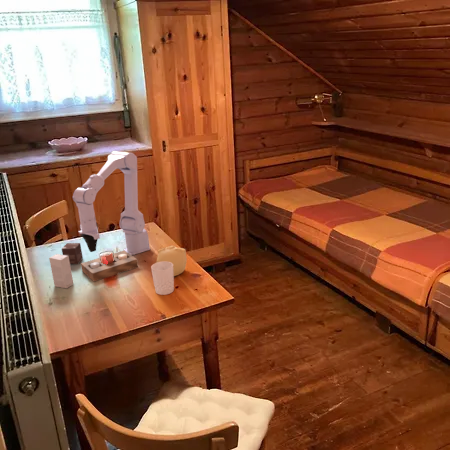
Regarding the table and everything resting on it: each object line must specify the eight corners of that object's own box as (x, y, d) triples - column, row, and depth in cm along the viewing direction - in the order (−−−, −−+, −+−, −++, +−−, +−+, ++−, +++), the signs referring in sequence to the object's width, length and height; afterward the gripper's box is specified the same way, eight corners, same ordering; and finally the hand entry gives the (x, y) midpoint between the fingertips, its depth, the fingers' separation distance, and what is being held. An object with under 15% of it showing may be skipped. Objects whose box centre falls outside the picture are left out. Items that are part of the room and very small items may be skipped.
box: (83, 258, 213) (80, 242, 210) (78, 264, 207) (75, 248, 205) (69, 258, 213) (66, 242, 211) (64, 264, 208) (61, 248, 205)
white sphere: (98, 270, 200) (97, 261, 199) (102, 273, 197) (100, 264, 196) (90, 272, 198) (88, 264, 197) (93, 275, 196) (92, 266, 194)
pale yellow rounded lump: (189, 266, 200) (187, 241, 197) (183, 279, 189) (181, 253, 185) (162, 265, 202) (159, 241, 198) (154, 279, 191) (151, 253, 187)
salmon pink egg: (111, 260, 203) (110, 252, 201) (115, 263, 200) (113, 254, 199) (103, 263, 201) (102, 254, 199) (107, 266, 198) (105, 257, 197)
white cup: (158, 297, 177) (155, 272, 173) (150, 289, 183) (148, 264, 180) (178, 292, 180) (176, 267, 177) (170, 283, 187) (168, 259, 183)
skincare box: (74, 284, 190) (69, 255, 186) (66, 289, 187) (61, 260, 183) (61, 281, 193) (56, 253, 189) (54, 286, 189) (48, 257, 185)
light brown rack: (125, 257, 211) (124, 250, 210) (138, 266, 202) (137, 259, 201) (82, 271, 201) (80, 263, 199) (93, 281, 192) (92, 273, 190)
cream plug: (125, 261, 207) (124, 253, 205) (129, 264, 204) (128, 255, 203) (117, 264, 205) (116, 255, 203) (121, 266, 202) (120, 258, 201)
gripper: (70, 216, 193) (76, 248, 198) (84, 226, 182) (90, 259, 187) (87, 212, 197) (92, 243, 202) (102, 221, 186) (107, 254, 191)
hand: (92, 251), depth 195 cm, fingers closed
